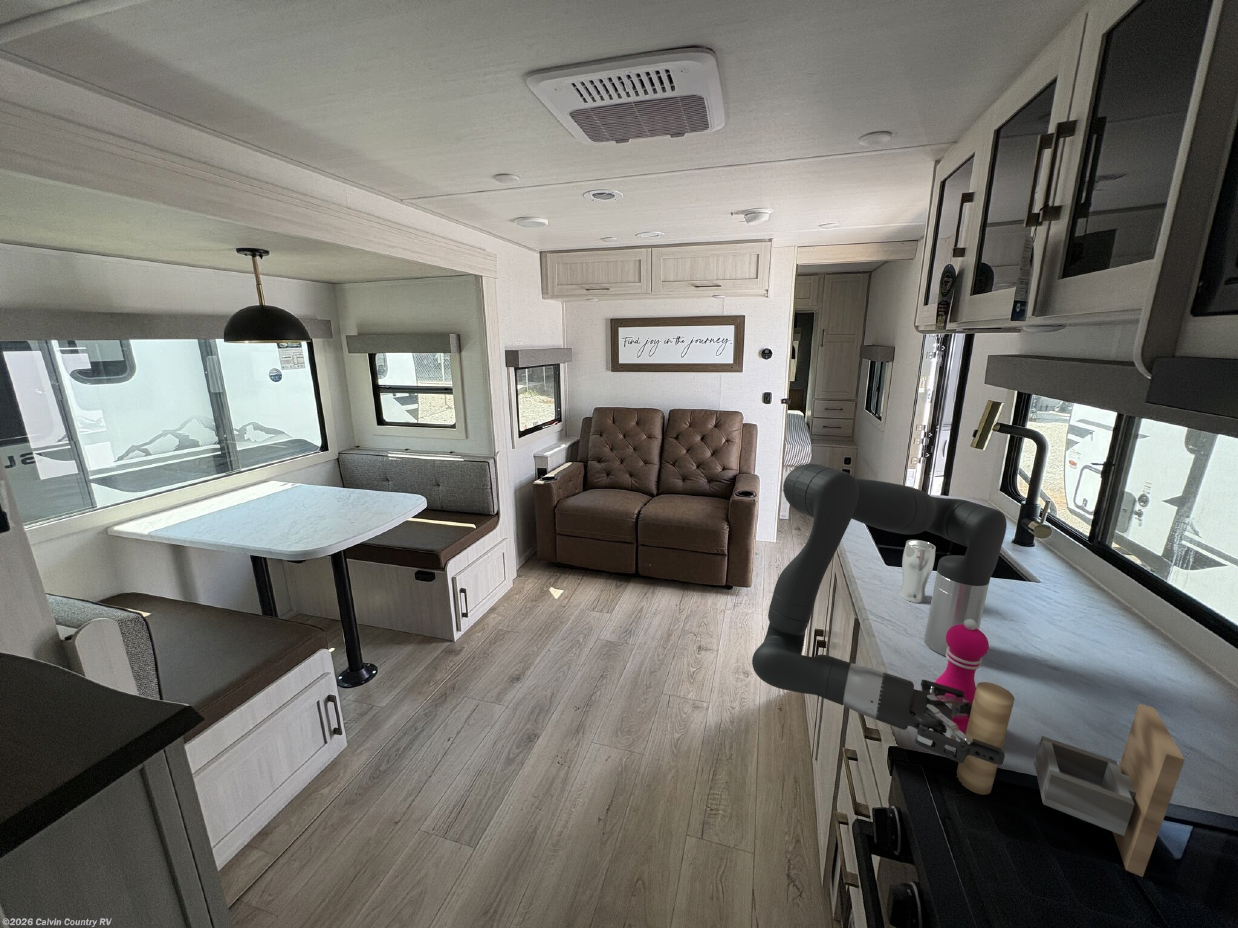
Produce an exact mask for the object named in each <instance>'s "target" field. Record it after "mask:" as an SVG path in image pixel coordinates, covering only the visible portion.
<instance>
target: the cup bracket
mask: <svg viewBox="0 0 1238 928" xmlns="http://www.w3.org/2000/svg"><path fill="white" fill-rule="evenodd" d="M1128 733H1129V734H1128V737H1127V739H1126V743H1125V745H1124V749H1123V752H1122V756H1121V758H1120V762H1119V765H1118V762H1117V760H1115V759H1112V758H1110V757H1107V756H1104V755H1100V754H1097V753H1094V752H1091V751H1088V750H1086V749H1082V748H1079V747H1077V746H1075V745H1074V746H1073V745H1071V744H1068V743H1064V742H1061V741H1058V740H1055V739H1054V738H1050V737H1047V736H1044V735H1041V736H1040V741H1039V744H1038V748H1037V752H1036V755H1035V758H1034V763H1033V764H1034V770H1035V773H1036V778H1037V783H1038V788H1039V791H1040V796H1041V800H1042V804H1043V805H1044V806H1046V807H1050V808H1052V809H1054V810H1057V811H1060V812H1061V813H1065V814H1067V815H1070V816H1072V817H1075V818H1077V819H1080V820H1082V821H1084V822H1087V823H1090V824H1092V825H1095V826H1098V827H1100V828H1102V829H1106V830H1108V831H1109V832H1110V831H1111V832H1112V834H1113V836H1114V839H1115V843H1116V845H1117V848H1118V850H1119V851H1118V852H1119V853H1120V857H1121V860H1122V862H1123V866H1124V868H1125V870H1126V871H1127V872H1129V873H1132V874H1135V875H1137V876H1139V877H1141V878H1143V877H1144V874H1145V872H1146V868H1147V866H1148V864H1149V862H1150V858H1151V856H1152V852H1153V849H1154V847H1155V845H1156V844H1155V843H1156V841H1157V838H1158V836H1159V832H1160V830H1161V827H1162V824H1163V822H1164V819H1165V816H1166V813H1167V811H1168V808H1169V805H1170V802H1171V799H1172V797H1173V794H1174V790H1175V789H1176V786H1177V783H1178V780H1179V777H1180V774H1181V772H1182V768H1183V766H1184V763H1185V761H1186V759H1185V758H1184V756H1183V754H1182V752H1181V750H1180V749H1179V747H1178V746H1177V743H1176V742H1175V740H1174V738H1173V737H1172V735H1171V733H1170V732H1169V730H1168V728H1167V726H1166V725H1165V723H1164V721H1163V720H1162V718H1161V717H1160V714H1159V713H1158V712H1157V709H1156V708H1155V707H1152V706H1149V705H1145V704H1141V703H1138V705H1137V709H1136V711H1135V715H1134V718H1133V721H1132V724H1131V727H1130V730H1129V732H1128Z"/></svg>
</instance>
